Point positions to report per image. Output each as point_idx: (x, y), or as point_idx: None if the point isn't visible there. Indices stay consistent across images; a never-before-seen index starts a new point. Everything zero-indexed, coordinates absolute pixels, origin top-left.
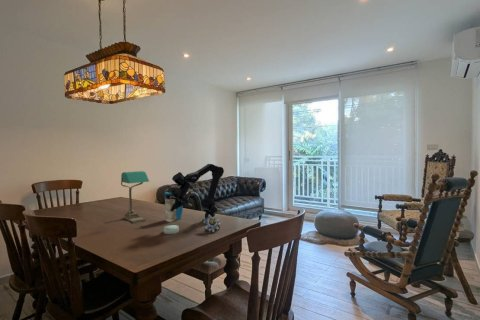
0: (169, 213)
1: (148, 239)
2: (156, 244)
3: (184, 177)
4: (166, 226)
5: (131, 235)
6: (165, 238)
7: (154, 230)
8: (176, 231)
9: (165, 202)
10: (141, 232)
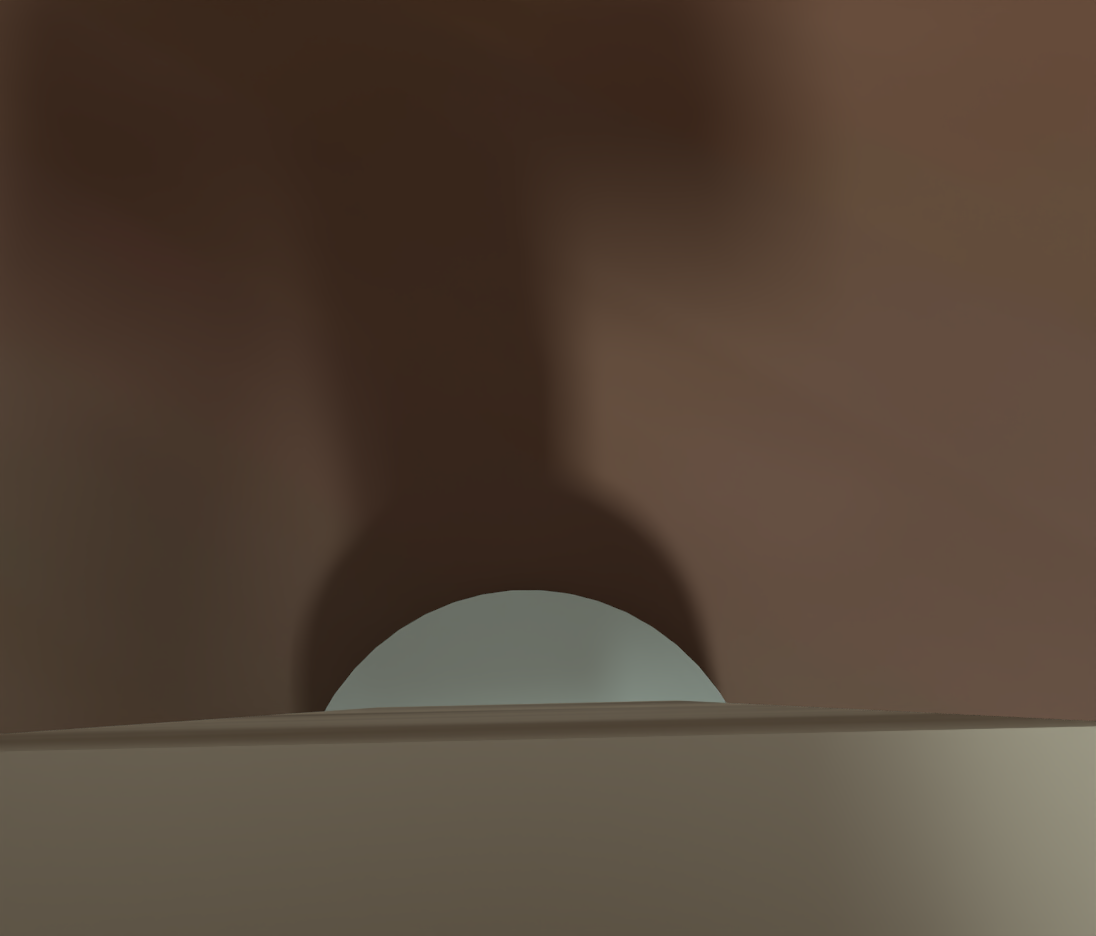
0: (319, 713)
1: (448, 118)
2: (29, 73)
3: None
4: None
5: (1014, 13)
6: (188, 394)
7: (997, 561)
8: None
9: (873, 720)
10: (1074, 258)
